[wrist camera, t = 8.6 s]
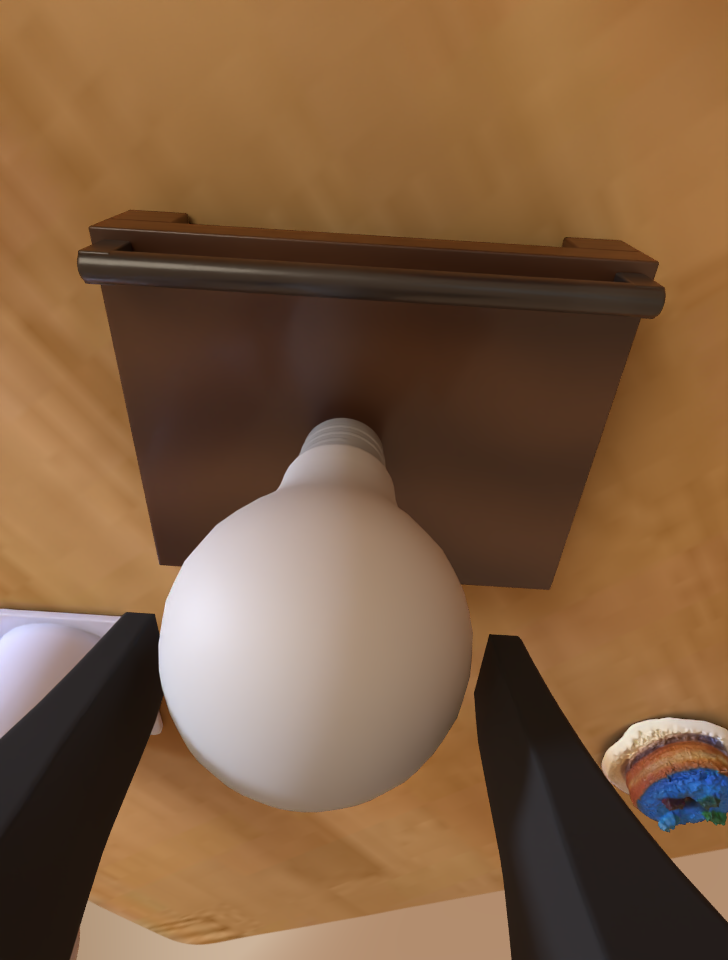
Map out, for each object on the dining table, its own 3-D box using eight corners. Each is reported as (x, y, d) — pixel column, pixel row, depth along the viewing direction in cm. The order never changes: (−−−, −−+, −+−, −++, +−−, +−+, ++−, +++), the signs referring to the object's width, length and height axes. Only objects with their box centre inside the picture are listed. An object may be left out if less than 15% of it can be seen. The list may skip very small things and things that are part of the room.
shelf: (534, 542, 23) (561, 622, 20) (181, 520, 24) (143, 596, 20) (623, 240, 17) (688, 277, 13) (128, 209, 17) (57, 237, 13)
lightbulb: (224, 367, 17) (22, 687, 7) (428, 333, 16) (480, 645, 7) (279, 525, 20) (186, 880, 11) (450, 504, 19) (505, 869, 10)
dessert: (645, 712, 28) (749, 828, 25) (705, 668, 32) (803, 764, 29) (567, 777, 33) (646, 881, 30) (627, 732, 37) (703, 820, 34)
